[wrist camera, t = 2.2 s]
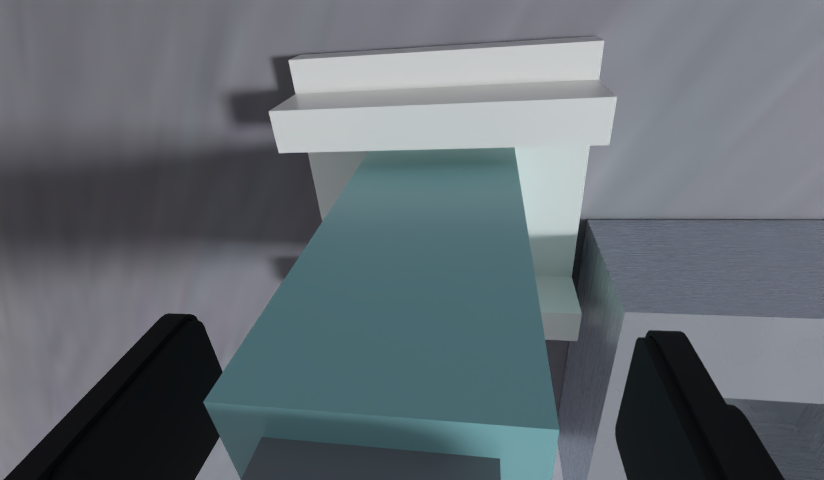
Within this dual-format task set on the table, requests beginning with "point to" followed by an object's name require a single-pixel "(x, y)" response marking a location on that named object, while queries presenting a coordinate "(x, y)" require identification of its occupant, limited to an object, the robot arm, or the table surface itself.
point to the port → (701, 330)
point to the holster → (465, 129)
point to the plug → (401, 336)
